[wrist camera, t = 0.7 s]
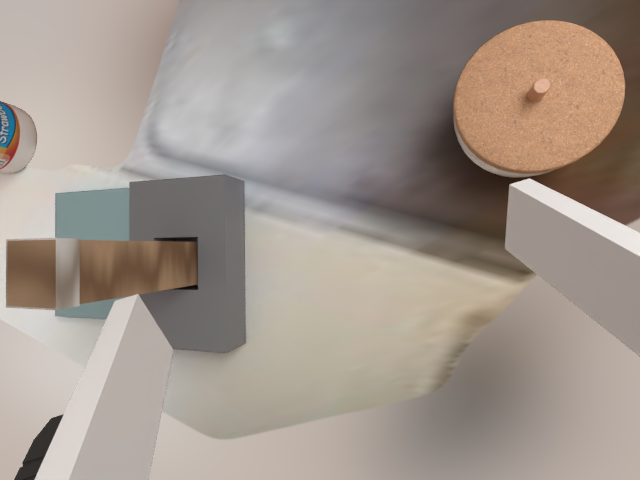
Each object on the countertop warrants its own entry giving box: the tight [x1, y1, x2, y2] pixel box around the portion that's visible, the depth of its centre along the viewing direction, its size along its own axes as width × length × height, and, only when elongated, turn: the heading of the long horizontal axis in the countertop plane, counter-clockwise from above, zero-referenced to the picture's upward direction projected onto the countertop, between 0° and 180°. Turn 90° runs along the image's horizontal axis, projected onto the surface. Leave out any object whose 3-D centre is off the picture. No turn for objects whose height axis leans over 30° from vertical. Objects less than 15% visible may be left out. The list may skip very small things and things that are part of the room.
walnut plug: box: [6, 238, 198, 310], centre depth 33 cm, size 5×5×18 cm
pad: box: [55, 188, 130, 319], centre depth 46 cm, size 16×12×1 cm
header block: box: [130, 175, 246, 353], centre depth 40 cm, size 18×12×4 cm, turn 0°
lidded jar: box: [453, 20, 625, 177], centre depth 28 cm, size 11×11×9 cm
